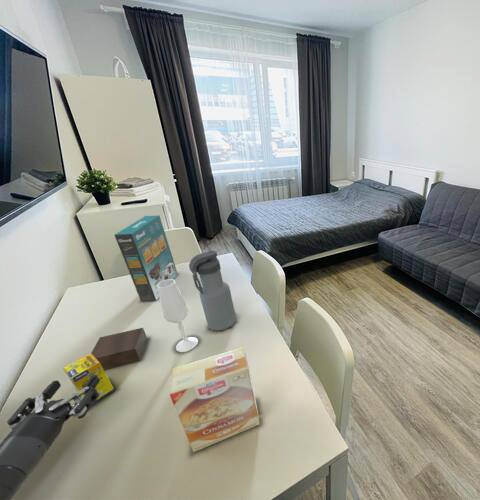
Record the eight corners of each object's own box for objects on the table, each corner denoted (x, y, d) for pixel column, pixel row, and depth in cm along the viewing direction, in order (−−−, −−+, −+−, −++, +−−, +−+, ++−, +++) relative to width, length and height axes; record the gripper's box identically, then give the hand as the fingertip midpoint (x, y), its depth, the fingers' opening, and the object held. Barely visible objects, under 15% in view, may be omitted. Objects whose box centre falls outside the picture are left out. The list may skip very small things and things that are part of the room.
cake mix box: (164, 274, 132) (145, 216, 119) (177, 273, 132) (159, 215, 119) (141, 301, 112) (114, 234, 99) (156, 300, 113) (131, 233, 100)
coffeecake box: (192, 453, 60) (167, 395, 51) (193, 423, 66) (171, 367, 57) (260, 425, 65) (248, 368, 57) (256, 400, 71) (244, 344, 63)
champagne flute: (191, 334, 94) (172, 275, 83) (202, 342, 90) (183, 281, 80) (171, 346, 89) (148, 285, 79) (182, 355, 85) (159, 292, 75)
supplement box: (115, 390, 75) (100, 361, 70) (89, 408, 70) (70, 378, 65) (106, 380, 77) (90, 352, 73) (80, 397, 73) (62, 368, 68)
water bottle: (212, 336, 93) (192, 265, 81) (203, 322, 99) (183, 254, 87) (240, 323, 99) (226, 254, 87) (230, 310, 105) (215, 245, 93)
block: (93, 372, 80) (86, 360, 78) (105, 348, 89) (99, 337, 86) (140, 360, 84) (134, 348, 82) (147, 338, 92) (143, 327, 90)
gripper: (55, 430, 52) (103, 364, 67) (-33, 446, 50) (36, 374, 65) (72, 453, 56) (114, 385, 70) (-10, 468, 53) (51, 395, 68)
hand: (77, 379), depth 67 cm, fingers open, 8 cm apart
